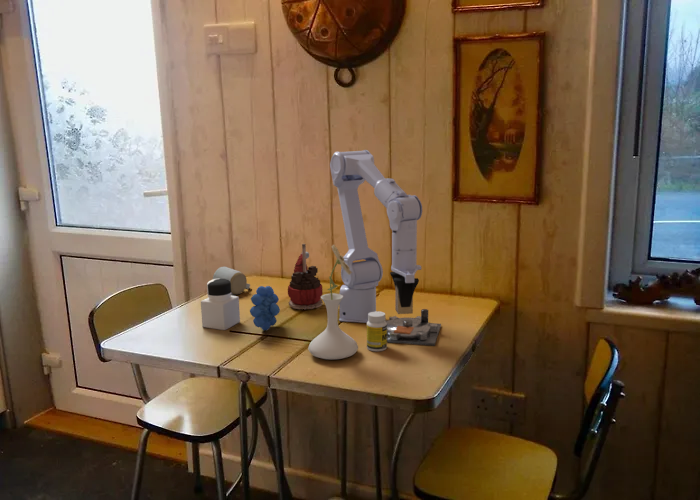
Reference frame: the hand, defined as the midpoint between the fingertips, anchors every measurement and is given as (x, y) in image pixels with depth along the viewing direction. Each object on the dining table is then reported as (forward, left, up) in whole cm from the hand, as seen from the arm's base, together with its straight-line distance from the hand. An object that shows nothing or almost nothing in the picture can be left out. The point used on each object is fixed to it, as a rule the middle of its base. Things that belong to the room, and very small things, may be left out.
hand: (404, 304), depth 155 cm
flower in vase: (-14, -11, -9) cm, 20 cm away
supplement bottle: (-5, -6, -9) cm, 12 cm away
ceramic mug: (-57, +30, -9) cm, 66 cm away
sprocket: (0, +5, -9) cm, 10 cm away
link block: (0, 0, -2) cm, 2 cm away
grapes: (-34, 0, -9) cm, 36 cm away
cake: (-31, +21, -9) cm, 39 cm away
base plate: (0, +5, -9) cm, 10 cm away
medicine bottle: (-48, +2, -9) cm, 49 cm away
